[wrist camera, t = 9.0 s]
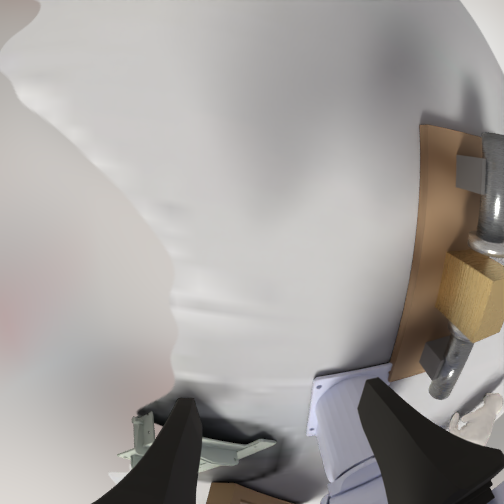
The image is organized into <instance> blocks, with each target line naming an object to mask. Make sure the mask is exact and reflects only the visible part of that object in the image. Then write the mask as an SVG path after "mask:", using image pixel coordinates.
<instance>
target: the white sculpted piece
mask: <svg viewBox="0 0 504 504" xmlns="http://www.w3.org/2000/svg"><path fill="white" fill-rule="evenodd" d="M483 401H484V402H483V403H484V405H483V406H482V407H481V408H479V409H477V410H476V411H475V412H471V413H469V414H466V415H464V416H463V417H462V419H461V421H462V422H463V423H465V422H467V423H466V425H464V426H463V427H461V429H460V430H458V422H459V413H455V414H454V415H453V417H452V419H451V421H450V426H449V432H450V433H452V434H454V435H456V436H458V437H460V438H463V439H465V440H467V441H470V442H473V443H476V444H479V445H482V446H485V444H486V442H487V440H488V439H489V437H490V434H491V430H492V428H493V425H494V420H495V418H496V416H497V414H498V413H499V412H500V410H501V408H502V406H503V398H502V396H501V395H500V394H499V393H495V394H494V393H487V395H486V396H485V397H484V398H483Z"/></svg>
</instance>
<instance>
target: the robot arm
mask: <svg viewBox="0 0 504 504" xmlns="http://www.w3.org/2000/svg"><path fill="white" fill-rule="evenodd" d="M391 368H392V363H387V364H382V365H378V366H374V367H369V368H364V369H359V370H354V371H349V372H344V373H338V374H332V375H326V376H320V377H317V378H315V379H314V381H313V387H312V395H311V402H310V409H309V416H308V422H307V429H306V435H307V436H315V435H316V438H317V441H318V445H319V449H320V453H321V457H322V461H323V465H324V469H325V473H326V476H327V478H328V480H329V481H330V482H331V483H329V484H328V485H327V487H328V491H329V494H327V495H325V496H324V497H323V498H322V500H321V503H320V504H504V481H503V482H502V483H501V484H499V485H498V486H497V487H496V488H494V489H493V490H492V491H491V489H490V487H491V486H492V482H491V479H492V478H493V477H494V476H496V475H497V474H498V473H499V472H500V471H501V470H502V469H503V468H504V454H503V453H502V451H501V450H499V449H494V448H489V447H485V446H482V445H479V444H476V443H473V442H470V441H467V440H465V439H463V438H460V437H458V436H456V435H454V434H452V433H450V432H448V431H446V430H444V429H443V428H441V427H439V426H438V425H436V424H434V423H433V422H431V421H430V420H428V419H427V418H426V417H424V416H423V415H422V414H420V413H419V412H418V411H416V410H415V409H414V408H413V407H412V406H410V405H409V404H408V403H407V402H406V401H404V400H403V399H402V398H401V397H400V396H399V395H398V394H397V393H395V392H394V391H393V390H392V389H391V388H390V387H389V385H390V382H389V381H388V377H389V373H388V372H389V371H391ZM318 385H319V386H318ZM201 450H202V423H201V420H200V417H199V414H198V410H197V407H196V404H195V401H194V398H179V399H178V400H177V401H176V404H175V406H174V408H173V410H172V412H171V413H170V415H169V417H168V419H167V421H166V422H165V424H164V426H163V428H162V429H161V431H160V432H159V434H158V436H157V437H156V439H155V440H154V442H153V443H152V445H151V446H150V447H149V449H148V450H147V452H146V453H145V454H144V456H143V457H142V458H141V459H140V461H139V462H138V463H137V464H136V465H135V467H134V468H133V469H132V470H131V471H130V472H129V473H128V474H127V475H126V476H125V477H124V478H123V479H122V480H121V481H120V482H119V483H118V484H117V485H116V486H115V487H113V488H112V489H111V490H110V491H108V492H107V493H106V494H105V495H103V496H102V497H101V498H99V499H98V500H97V501H95V502H93V503H92V504H196V487H197V479H198V472H199V465H200V457H201Z"/></svg>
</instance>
